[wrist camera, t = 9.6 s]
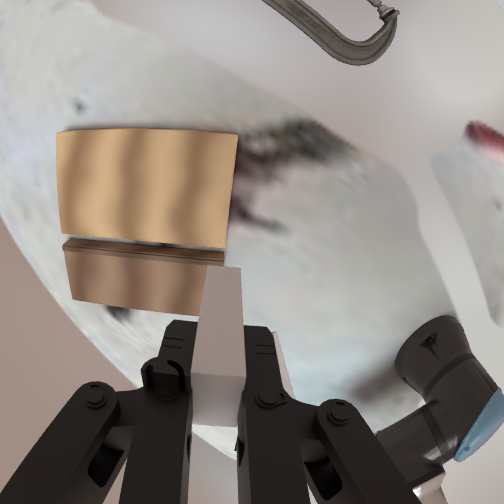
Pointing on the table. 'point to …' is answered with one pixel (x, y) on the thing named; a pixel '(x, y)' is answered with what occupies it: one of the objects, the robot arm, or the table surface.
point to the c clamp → (331, 39)
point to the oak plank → (146, 184)
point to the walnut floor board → (138, 275)
